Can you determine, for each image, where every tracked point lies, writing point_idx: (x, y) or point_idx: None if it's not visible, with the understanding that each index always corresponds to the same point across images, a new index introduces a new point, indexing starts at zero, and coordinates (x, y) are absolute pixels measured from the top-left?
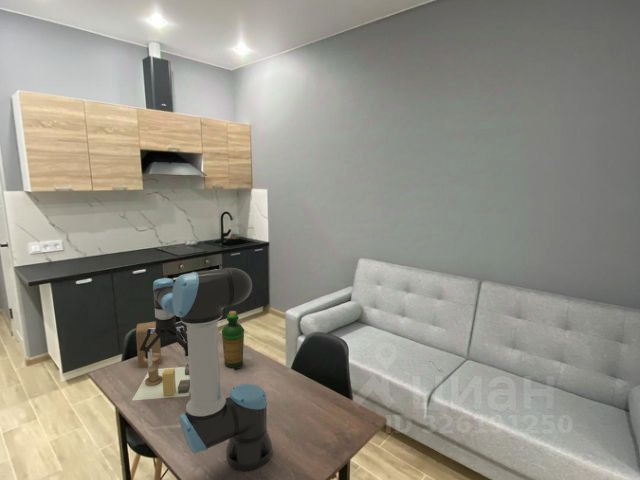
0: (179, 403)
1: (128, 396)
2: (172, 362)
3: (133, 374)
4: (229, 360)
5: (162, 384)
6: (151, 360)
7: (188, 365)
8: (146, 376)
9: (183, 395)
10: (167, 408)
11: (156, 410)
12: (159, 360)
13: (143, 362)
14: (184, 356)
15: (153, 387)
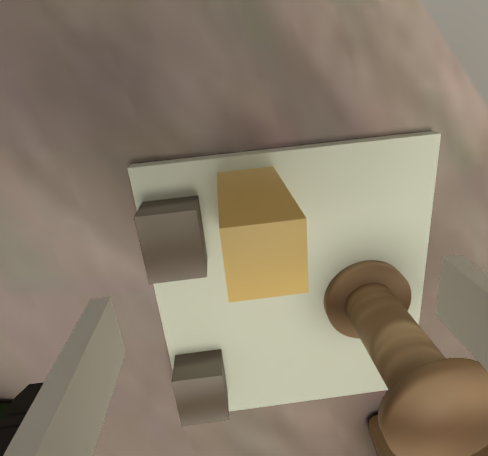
0: (165, 117)
1: (461, 191)
2: (321, 440)
3: (472, 357)
4: None
5: (313, 273)
6: (467, 322)
7: (213, 406)
8: None
9: (158, 172)
10: (218, 70)
11: (277, 53)
12: (382, 441)
13: None
14: (57, 371)
15: (353, 248)
